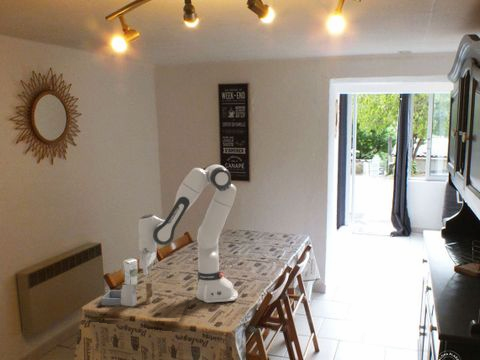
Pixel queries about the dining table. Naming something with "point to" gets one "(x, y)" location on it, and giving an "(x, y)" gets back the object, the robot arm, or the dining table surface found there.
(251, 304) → the dining table surface
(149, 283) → the scraper
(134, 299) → the white rectangular block
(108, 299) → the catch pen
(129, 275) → the syrup box
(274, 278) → the dining table surface
